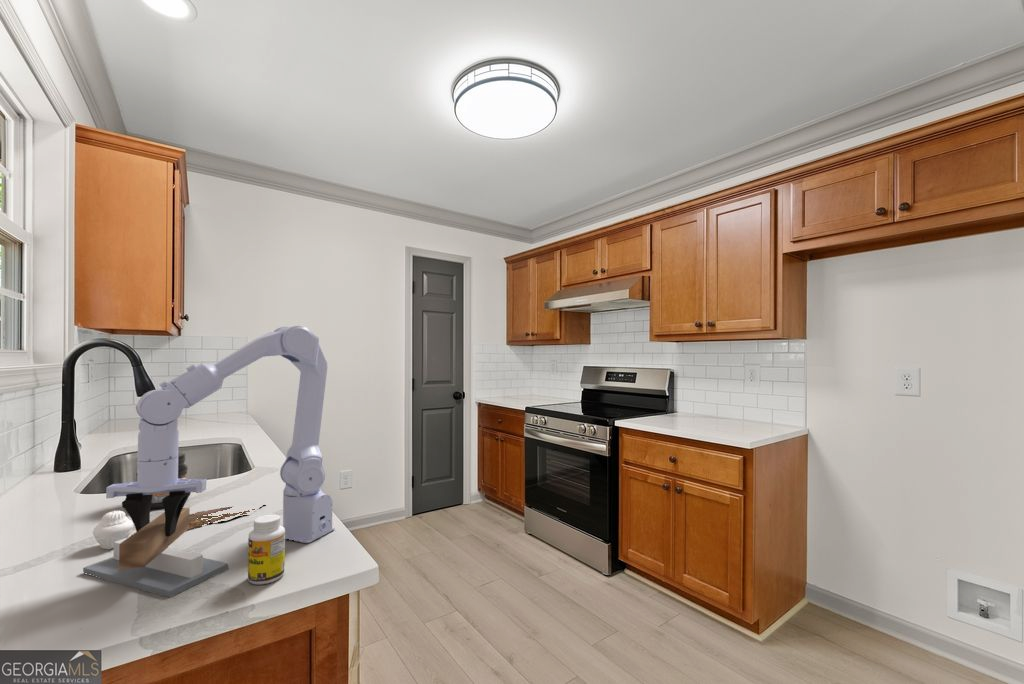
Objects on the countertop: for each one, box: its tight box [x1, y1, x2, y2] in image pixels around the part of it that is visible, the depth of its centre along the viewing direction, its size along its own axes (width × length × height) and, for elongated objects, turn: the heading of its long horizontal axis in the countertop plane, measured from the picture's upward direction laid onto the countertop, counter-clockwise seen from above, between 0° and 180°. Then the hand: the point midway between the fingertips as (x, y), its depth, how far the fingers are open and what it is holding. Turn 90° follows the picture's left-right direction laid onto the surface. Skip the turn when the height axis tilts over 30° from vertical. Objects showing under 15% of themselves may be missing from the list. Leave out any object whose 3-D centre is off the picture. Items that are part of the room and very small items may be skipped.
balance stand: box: [82, 538, 229, 598], centre depth 81 cm, size 22×10×4 cm, turn 70°
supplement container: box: [134, 451, 189, 511], centre depth 116 cm, size 10×10×12 cm
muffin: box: [92, 510, 135, 550], centre depth 91 cm, size 6×6×7 cm
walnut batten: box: [119, 507, 190, 569], centre depth 81 cm, size 4×16×4 cm, turn 13°
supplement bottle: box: [247, 514, 286, 586], centre depth 79 cm, size 6×6×10 cm
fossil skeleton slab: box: [187, 506, 255, 531], centre depth 107 cm, size 26×11×1 cm, turn 138°
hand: (157, 535), depth 81 cm, fingers closed on walnut batten, 3 cm apart
